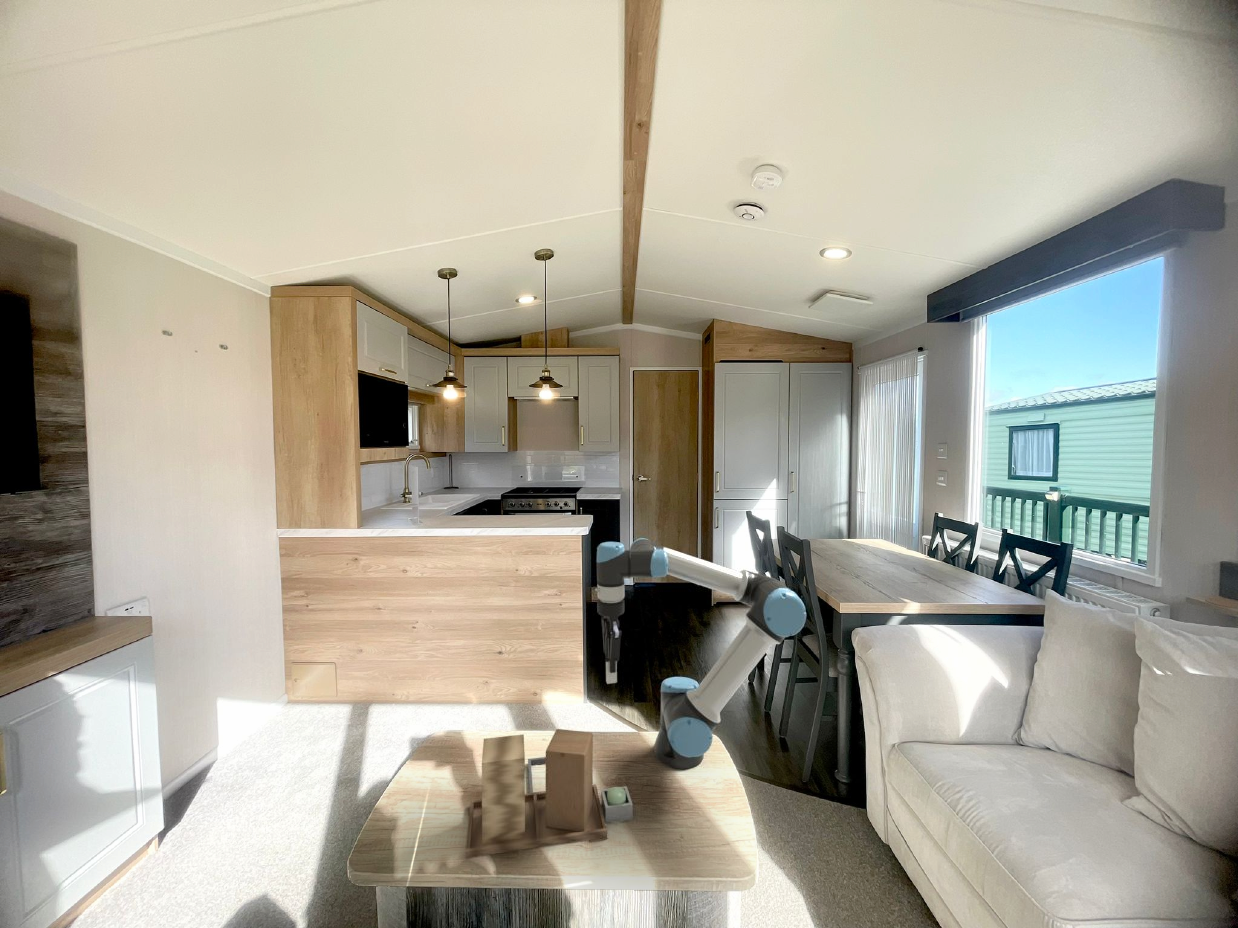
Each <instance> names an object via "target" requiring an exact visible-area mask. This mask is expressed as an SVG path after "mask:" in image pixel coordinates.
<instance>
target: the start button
mask: <svg viewBox="0 0 1238 928" xmlns="http://www.w3.org/2000/svg"><path fill="white" fill-rule="evenodd" d="M620 787H621V786H614V787H611V788H608V789H609V790H608V792H607V804H608V806H611V805H618V804H625V803H626V792H625V790H624V789H622V788H620Z"/></svg>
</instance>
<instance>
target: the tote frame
mask: <svg viewBox="0 0 1238 928" xmlns="http://www.w3.org/2000/svg"><path fill="white" fill-rule="evenodd" d="M542 764H546V756H541V757H535V758H534V757H532V758H527V769H528V784H529V785H528V787H529V793H534V791H533V789H534V788H533V787H534V786H533V777H532V776H533V774H532V773H533V772H532V765H533V766H535V765H542ZM542 791H543V790H541V791H540V792H542Z"/></svg>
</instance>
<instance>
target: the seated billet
mask: <svg viewBox="0 0 1238 928" xmlns="http://www.w3.org/2000/svg"><path fill="white" fill-rule="evenodd" d="M482 742H483V744H482V745H483V746H482V755H481V756H482V757H481V799H482V844H485V843H491V842H498V841H505V840H512V839H518V838H525V794H526V791H525V790H526V789H525V788H526V785H525V782H526V779H525V777H526V770H525V769H526V763H525V762H526V755H525V753H526V751H525V737H524V734H515V735H507V736H496V737H495V736H494V737H487V738H483V741H482Z"/></svg>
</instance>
